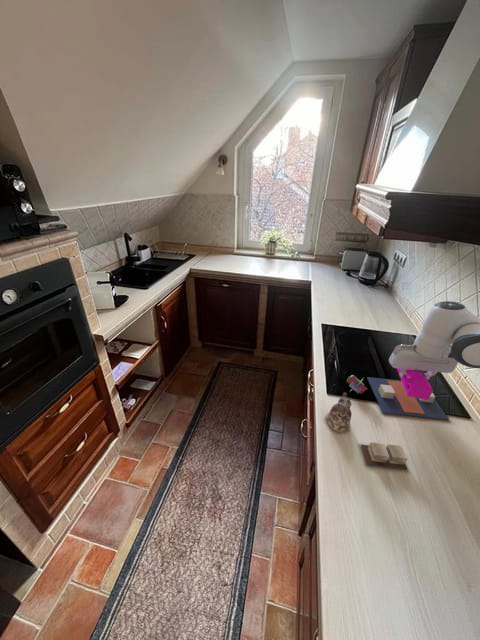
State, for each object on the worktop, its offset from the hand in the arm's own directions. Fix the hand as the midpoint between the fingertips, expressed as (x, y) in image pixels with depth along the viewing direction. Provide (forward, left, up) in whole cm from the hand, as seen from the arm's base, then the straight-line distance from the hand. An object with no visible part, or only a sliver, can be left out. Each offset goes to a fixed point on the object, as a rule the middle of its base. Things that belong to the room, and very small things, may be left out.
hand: (413, 377), depth 92 cm
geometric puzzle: (+18, -1, -11) cm, 21 cm away
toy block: (0, 0, -3) cm, 3 cm away
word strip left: (+17, +26, -10) cm, 33 cm away
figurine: (+28, +15, -11) cm, 33 cm away
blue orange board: (0, 0, -10) cm, 10 cm away
